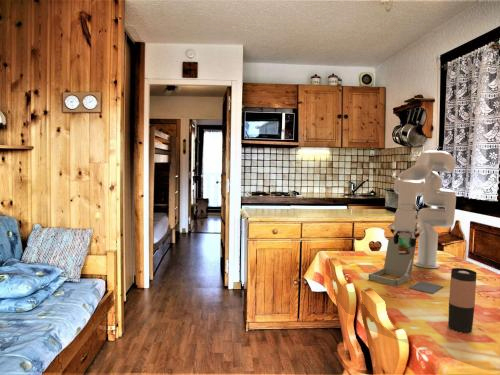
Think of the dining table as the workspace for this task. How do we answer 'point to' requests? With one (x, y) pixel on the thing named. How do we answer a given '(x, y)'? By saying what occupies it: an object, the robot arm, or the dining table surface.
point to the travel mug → (462, 300)
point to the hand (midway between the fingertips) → (404, 244)
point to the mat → (426, 287)
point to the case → (395, 265)
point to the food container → (404, 243)
